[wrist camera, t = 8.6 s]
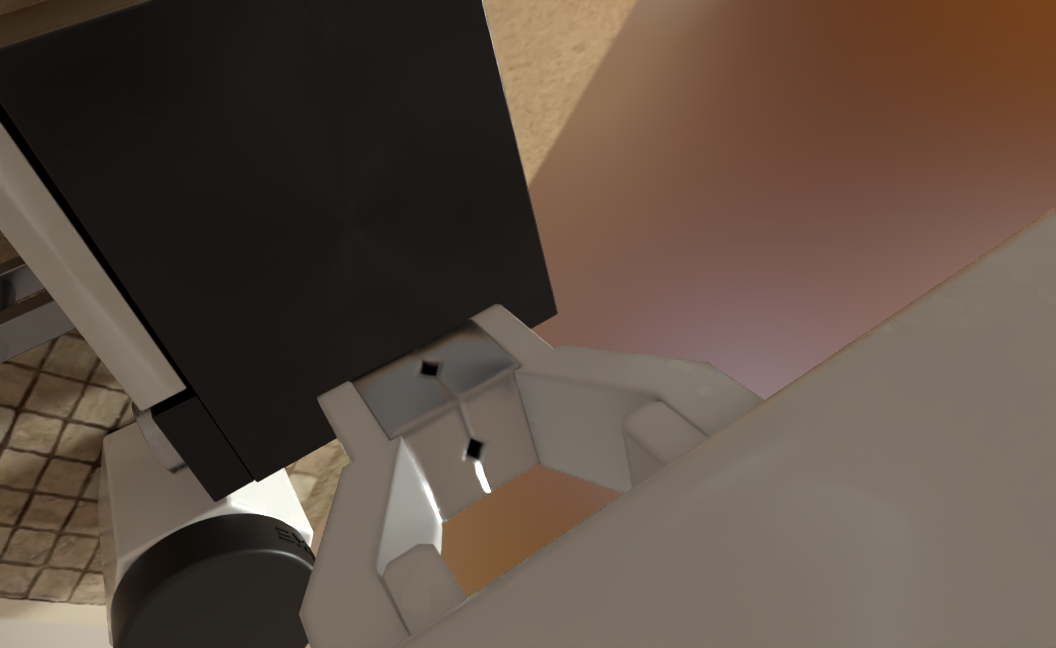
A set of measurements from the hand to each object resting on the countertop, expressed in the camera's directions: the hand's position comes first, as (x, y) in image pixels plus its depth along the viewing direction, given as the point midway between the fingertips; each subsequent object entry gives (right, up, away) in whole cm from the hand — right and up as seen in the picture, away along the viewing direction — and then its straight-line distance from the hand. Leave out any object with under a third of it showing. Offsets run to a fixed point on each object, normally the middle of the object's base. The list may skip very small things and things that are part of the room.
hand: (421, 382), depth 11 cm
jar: (-17, -7, +27) cm, 33 cm away
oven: (-12, +9, +22) cm, 26 cm away
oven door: (-19, +7, +18) cm, 27 cm away
